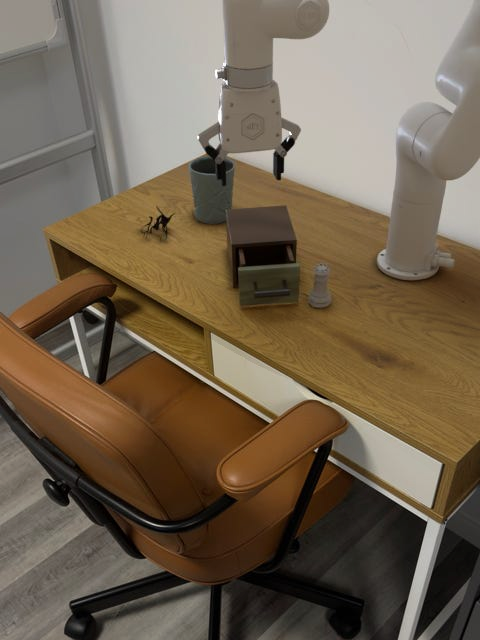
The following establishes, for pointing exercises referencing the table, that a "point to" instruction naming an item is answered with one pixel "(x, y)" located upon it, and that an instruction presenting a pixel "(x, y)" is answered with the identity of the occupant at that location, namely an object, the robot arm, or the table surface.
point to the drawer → (267, 275)
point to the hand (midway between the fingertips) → (250, 180)
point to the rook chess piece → (320, 287)
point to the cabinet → (257, 231)
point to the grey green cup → (211, 190)
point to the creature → (163, 221)
